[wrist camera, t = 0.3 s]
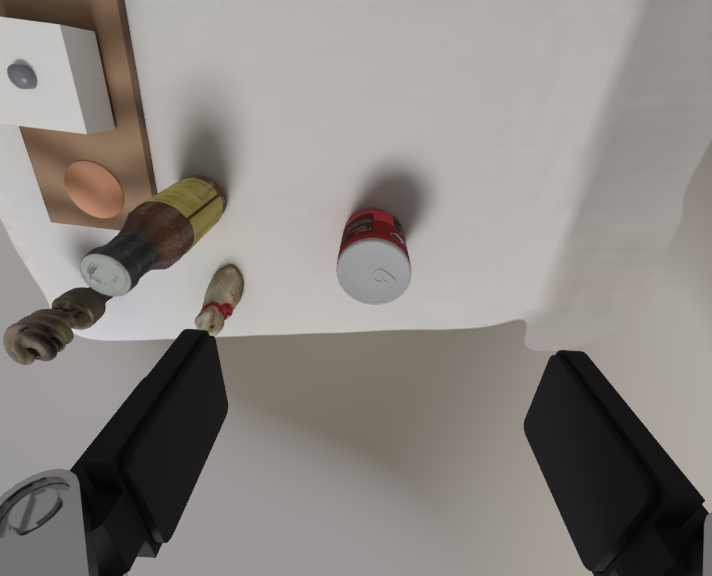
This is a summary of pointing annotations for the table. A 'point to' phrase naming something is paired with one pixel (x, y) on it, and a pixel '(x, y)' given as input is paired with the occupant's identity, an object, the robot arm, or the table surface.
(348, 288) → the canned food
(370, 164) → the table surface
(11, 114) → the block
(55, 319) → the light bulb
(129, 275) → the sauce bottle
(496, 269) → the table surface
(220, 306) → the beige rounded lump
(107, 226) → the board
